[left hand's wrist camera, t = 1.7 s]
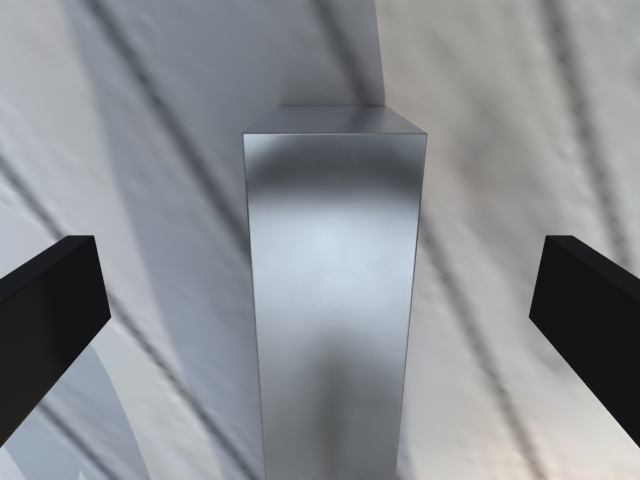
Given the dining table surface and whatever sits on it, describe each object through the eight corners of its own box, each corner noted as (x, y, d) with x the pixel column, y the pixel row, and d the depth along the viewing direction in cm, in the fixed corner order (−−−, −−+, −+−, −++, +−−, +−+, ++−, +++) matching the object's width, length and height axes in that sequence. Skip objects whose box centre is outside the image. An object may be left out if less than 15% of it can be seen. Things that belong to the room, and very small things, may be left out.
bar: (276, 106, 18) (241, 132, 11) (386, 105, 18) (428, 132, 10) (292, 518, 28) (279, 682, 20) (363, 519, 28) (376, 684, 20)
